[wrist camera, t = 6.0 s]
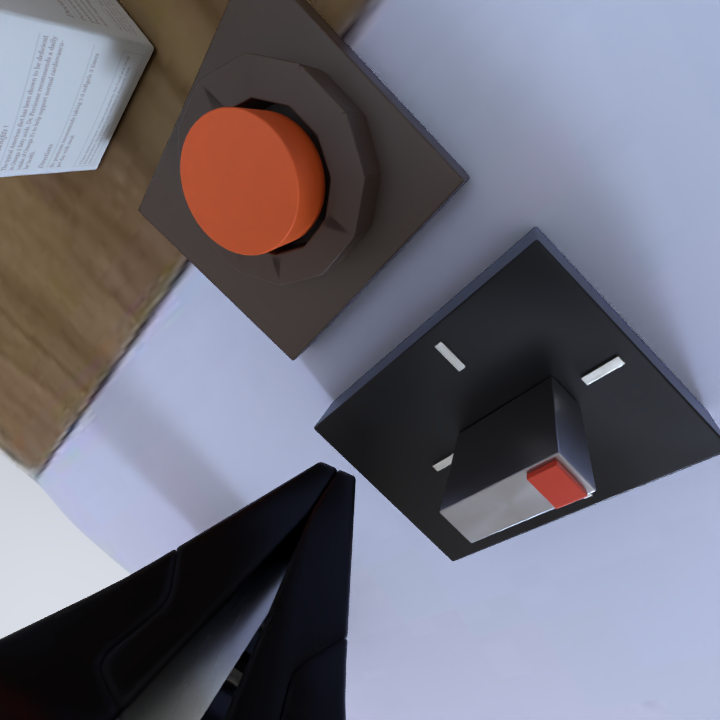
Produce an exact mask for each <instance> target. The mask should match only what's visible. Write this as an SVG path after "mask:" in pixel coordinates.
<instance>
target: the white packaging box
mask: <svg viewBox="0 0 720 720" xmlns="http://www.w3.org/2000/svg"><path fill="white" fill-rule="evenodd" d="M153 50H154V47H153V45H152V44H151V43H150V42H149V40H148V39H147V38H146V36H145V35H144V34H143V33H142V31H141V30H140V29H139V28H138V26H137V25H136V24H135V22H134V21H133V20H132V19H131V18H130V17H129V15H128V14H127V13H126V11H125V10H124V9H123V8H122V7H121V5H120V4H119V3H118V2H117V1H116V0H0V177H9V176H19V175H32V174H46V173H59V172H69V171H83V170H95V169H97V167H98V165H99V163H100V160H101V158H102V156H103V154H104V152H105V150H106V148H107V146H108V144H109V141H110V139H111V137H112V135H113V133H114V131H115V129H116V127H117V125H118V123H119V121H120V118H121V116H122V114H123V112H124V110H125V108H126V106H127V104H128V102H129V100H130V98H131V96H132V93H133V91H134V89H135V87H136V85H137V83H138V81H139V79H140V77H141V75H142V73H143V71H144V69H145V67H146V65H147V62H148V61H149V59H150V57H151V55H152V52H153Z"/></svg>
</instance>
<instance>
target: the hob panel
mask: <svg viewBox="0 0 720 720" xmlns="http://www.w3.org/2000/svg"><path fill="white" fill-rule="evenodd" d="M550 377H553V378H554V379H555V380H556V381H557V382H558V383H559V384H560V385H561V386H562V387H563V388H564V389H565V390H566V391H567V393H568V394H569V395H570V396H571V397H572V398H573V399H574V400H575V401H576V402H577V403H578V404H579V405H580V407H581V413H582V418H583V423H584V429H585V434H586V439H587V445H588V450H589V455H590V461H591V466H592V471H593V477H594V482H595V487H596V491H594V492H592V493H590V494H587V497H584V498H582V499H580V500H577V501H575V502H572V503H570V504H568V505H565V506H563V507H560V508H558V509H556V508H554V509H552V510H549V511H547V512H544V513H542V514H540V515H537V516H535V517H532V518H530V519H528V520H525V521H523V522H521V523H518V524H516V525H513V526H511V527H509V528H506V529H504V530H502V531H499V532H497V533H494V534H492V535H490V536H487V537H485V538H482V539H480V540H478V541H475V542H473V543H471V542H470V541H469V540H468V539H466V538H465V537H464V536H463V535H462V534H461V533H460V532H459V531H458V530H457V529H456V528H455V527H454V526H453V525H452V524H451V523H450V522H449V521H448V520H447V519H446V518H445V517H444V516H443V515H442V514H441V513H440V508H441V503H442V499H443V495H444V491H445V487H446V483H447V479H448V474H449V470H450V466H451V462H452V458H453V454H454V450H455V446H456V441H457V437H458V434H459V433H461V432H463V431H464V430H466V429H467V428H469V427H471V426H472V425H474V424H476V423H477V422H479V421H480V420H482V419H484V418H485V417H487V416H488V415H490V414H492V413H493V412H495V411H497V410H498V409H500V408H501V407H503V406H505V405H506V404H508V403H509V402H511V401H513V400H514V399H516V398H517V397H519V396H521V395H522V394H524V393H526V392H527V391H529V390H530V389H532V388H534V387H535V386H537V385H538V384H540V383H542V382H543V381H545V380H547V379H548V378H550ZM314 429H315V430H316V431H317V432H318V433H319V434H320V435H321V436H322V437H323V438H324V439H325V440H326V441H327V442H328V443H330V444H331V445H332V446H333V447H334V448H335V449H336V450H337V451H338V452H339V453H340V454H341V455H342V456H343V457H344V458H345V459H346V460H347V461H348V462H349V463H350V464H351V465H353V466H354V467H355V468H356V469H357V470H358V471H359V472H360V473H361V474H362V475H363V476H364V477H365V478H366V479H367V480H368V481H369V482H370V483H371V484H372V485H373V486H374V487H376V488H377V489H378V490H379V491H380V492H381V493H382V494H383V495H384V496H385V497H386V498H387V499H388V500H389V501H390V502H391V503H392V504H393V505H394V506H395V507H396V508H397V509H398V510H400V511H401V512H402V513H403V514H404V515H405V516H406V517H407V518H408V519H409V520H410V521H411V522H412V523H413V524H414V525H415V526H416V527H417V528H418V529H419V530H420V531H421V532H423V533H424V534H425V535H426V536H427V537H428V538H429V539H430V540H431V541H432V542H433V543H434V544H435V545H436V546H437V547H438V548H439V549H440V550H441V551H442V552H443V553H444V554H446V555H447V556H448V557H449V558H450V559H451V560H452V561H455V560H458V559H460V558H463V557H465V556H468V555H470V554H473V553H475V552H478V551H480V550H483V549H485V548H488V547H490V546H493V545H495V544H498V543H500V542H503V541H505V540H508V539H510V538H513V537H515V536H518V535H520V534H523V533H525V532H528V531H530V530H533V529H535V528H538V527H540V526H543V525H545V524H548V523H550V522H553V521H555V520H558V519H560V518H563V517H565V516H568V515H570V514H573V513H575V512H578V511H580V510H583V509H585V508H588V507H590V506H593V505H595V504H598V503H600V502H603V501H605V500H607V499H610V498H612V497H615V496H617V495H620V494H622V493H625V492H627V491H630V490H632V489H635V488H637V487H640V486H642V485H645V484H647V483H650V482H652V481H655V480H657V479H660V478H662V477H665V476H667V475H670V474H672V473H675V472H677V471H680V470H682V469H685V468H687V467H690V466H692V465H695V464H697V463H700V462H702V461H705V460H707V459H710V458H712V457H715V456H717V455H720V429H719V428H718V426H717V425H716V423H715V422H714V420H713V419H712V417H711V415H710V414H709V412H708V411H707V410H706V409H705V408H704V406H703V405H702V404H701V403H700V402H699V401H698V400H697V399H696V398H695V397H694V396H693V395H692V393H691V392H690V391H689V390H688V389H687V388H686V387H685V386H684V385H683V384H682V383H681V382H680V380H679V379H678V378H677V377H676V376H675V375H674V374H673V373H672V372H671V371H670V370H669V369H668V368H667V366H666V365H665V364H664V363H663V362H662V361H661V360H660V359H659V358H658V357H657V356H656V355H655V353H654V352H653V351H652V350H651V349H650V348H649V347H648V346H647V345H646V344H645V343H644V342H643V341H642V339H641V338H640V337H639V336H638V335H637V334H636V333H635V332H634V331H633V330H632V329H631V328H630V326H629V325H628V324H627V323H626V322H625V321H624V320H623V319H622V318H621V317H620V316H619V315H618V314H617V312H616V311H615V310H614V309H613V308H612V307H611V306H610V305H609V304H608V303H607V302H606V301H605V299H604V298H603V297H602V296H601V295H600V294H599V293H598V292H597V291H596V290H595V289H594V288H593V287H592V285H591V284H590V283H589V282H588V281H587V280H586V279H585V278H584V277H583V276H582V275H581V274H580V272H579V271H578V270H577V269H576V268H575V267H574V266H573V265H572V264H571V263H570V262H569V261H568V260H567V258H566V257H565V256H564V255H563V254H562V253H561V252H560V251H559V250H558V249H557V248H556V247H555V245H554V244H553V243H552V242H551V241H550V240H549V239H548V238H547V237H546V236H545V235H544V234H543V233H542V231H541V230H540V229H539V228H538V227H535V228H533V229H532V230H531V231H530V232H529V233H528V234H526V235H525V236H524V237H523V238H522V239H521V240H520V241H518V242H517V243H516V244H515V245H514V246H513V247H511V248H510V249H509V250H508V251H507V252H506V253H505V254H503V255H502V256H501V257H500V258H499V259H498V260H496V261H495V262H494V263H493V264H492V265H491V266H490V267H488V268H487V269H486V270H485V271H484V272H483V273H481V274H480V275H479V276H478V277H477V278H476V279H475V280H473V281H472V282H471V283H470V284H469V285H468V286H466V287H465V288H464V289H463V290H462V291H461V292H460V293H458V294H457V295H456V296H455V297H454V298H453V299H451V300H450V301H449V302H448V303H447V304H446V305H445V306H443V307H442V308H441V309H440V310H439V311H438V312H436V313H435V314H434V315H433V316H432V317H431V318H430V319H428V320H427V321H426V322H425V323H424V324H423V325H421V326H420V327H419V328H418V329H417V330H416V331H415V332H413V333H412V334H411V335H410V336H409V337H408V338H406V339H405V340H404V341H403V342H402V343H401V344H400V345H398V346H397V347H396V348H395V349H394V350H393V351H391V352H390V353H389V354H388V355H387V356H386V357H385V358H383V359H382V360H381V361H380V362H379V363H378V364H376V365H375V366H374V367H373V368H372V369H371V370H369V371H368V372H367V373H366V374H365V375H364V376H363V377H361V378H360V379H359V380H358V381H357V382H356V383H354V384H353V385H352V386H351V387H350V388H349V389H348V390H346V391H345V392H344V393H343V394H342V395H341V396H339V397H338V398H337V399H336V400H335V401H334V402H333V403H332V404H331V405H330V407H329V408H328V410H327V411H326V412H325V414H324V415H323V416H322V418H321V419H320V420H319V422H318V423H317V424H316V426H315V427H314Z"/></svg>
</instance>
